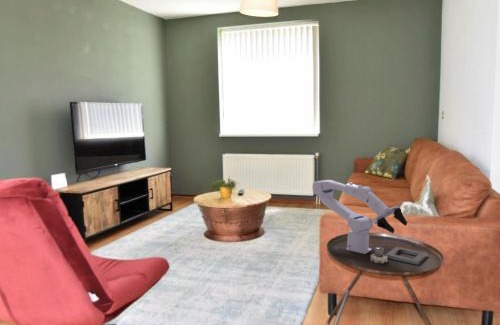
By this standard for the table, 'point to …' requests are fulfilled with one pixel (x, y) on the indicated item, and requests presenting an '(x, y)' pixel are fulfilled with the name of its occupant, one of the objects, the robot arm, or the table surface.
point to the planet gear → (379, 255)
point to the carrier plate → (418, 259)
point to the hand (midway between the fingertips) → (400, 227)
